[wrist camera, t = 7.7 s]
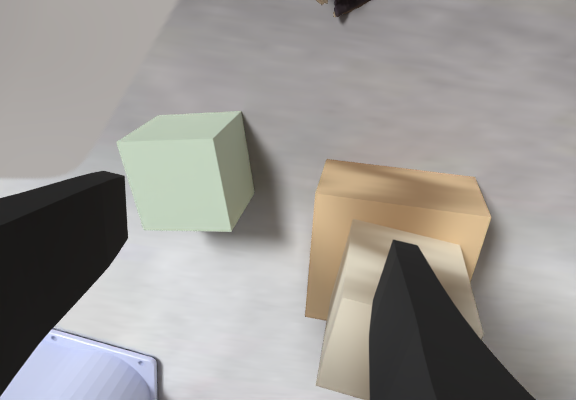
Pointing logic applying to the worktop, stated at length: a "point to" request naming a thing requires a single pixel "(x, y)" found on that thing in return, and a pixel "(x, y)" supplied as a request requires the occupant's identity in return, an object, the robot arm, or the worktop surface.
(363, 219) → the oak block
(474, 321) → the birch block
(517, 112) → the worktop surface
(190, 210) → the sage block
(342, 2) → the bread roll
